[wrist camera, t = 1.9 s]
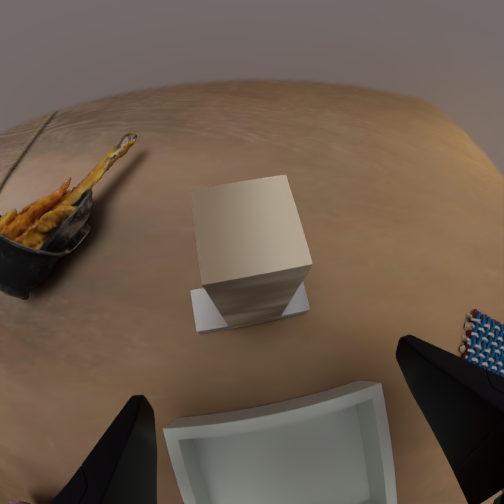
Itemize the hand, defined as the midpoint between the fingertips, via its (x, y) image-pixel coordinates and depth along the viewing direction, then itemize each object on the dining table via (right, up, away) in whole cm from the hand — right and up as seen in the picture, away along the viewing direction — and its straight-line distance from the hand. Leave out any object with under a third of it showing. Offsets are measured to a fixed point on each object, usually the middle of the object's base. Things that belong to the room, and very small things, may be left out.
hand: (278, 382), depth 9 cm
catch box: (+2, -12, +8) cm, 14 cm away
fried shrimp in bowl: (-18, +6, +15) cm, 24 cm away
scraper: (-1, 0, +13) cm, 13 cm away
